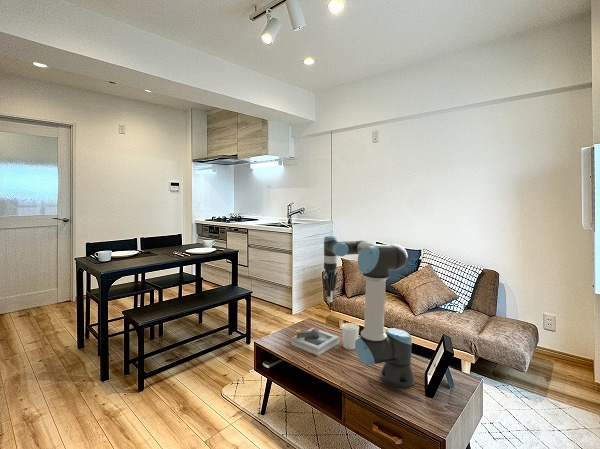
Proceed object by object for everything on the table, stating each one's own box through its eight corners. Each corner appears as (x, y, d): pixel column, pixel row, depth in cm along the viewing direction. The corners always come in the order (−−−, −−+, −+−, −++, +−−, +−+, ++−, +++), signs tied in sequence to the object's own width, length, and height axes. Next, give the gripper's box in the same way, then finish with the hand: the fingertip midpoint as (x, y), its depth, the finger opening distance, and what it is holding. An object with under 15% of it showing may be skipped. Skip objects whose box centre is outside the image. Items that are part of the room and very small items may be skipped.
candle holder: (340, 348, 181) (340, 328, 180) (343, 341, 191) (343, 322, 190) (357, 351, 178) (357, 330, 177) (359, 343, 187) (360, 324, 187)
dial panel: (339, 343, 188) (339, 336, 188) (318, 355, 173) (318, 348, 173) (312, 333, 201) (312, 327, 201) (291, 344, 186) (291, 337, 186)
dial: (325, 335, 194) (325, 325, 193) (327, 345, 181) (327, 334, 180) (296, 335, 193) (296, 326, 193) (297, 345, 180) (297, 335, 180)
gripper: (331, 260, 195) (331, 297, 197) (318, 263, 185) (318, 302, 187) (341, 261, 190) (341, 300, 192) (328, 264, 180) (328, 305, 182)
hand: (329, 301), depth 189 cm, fingers closed
